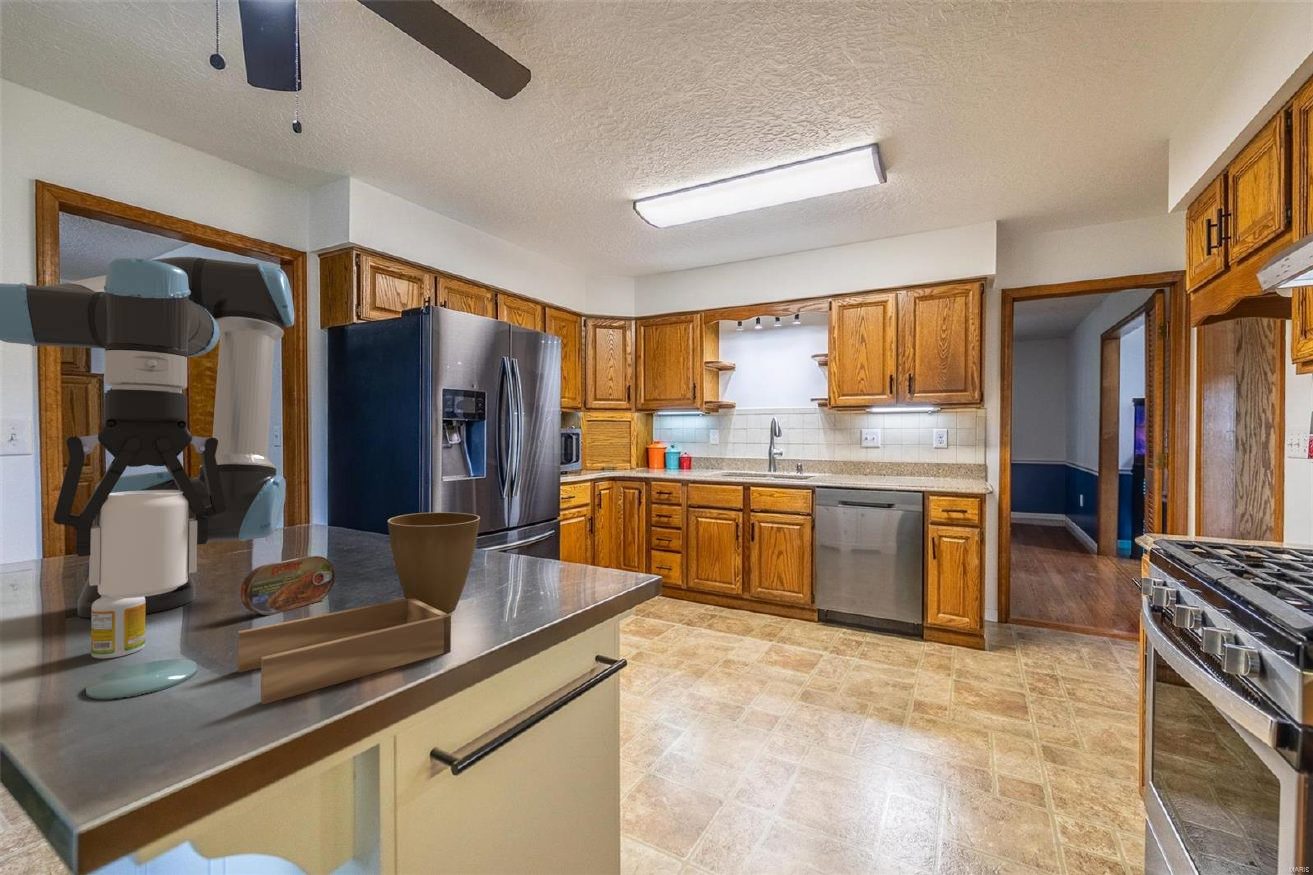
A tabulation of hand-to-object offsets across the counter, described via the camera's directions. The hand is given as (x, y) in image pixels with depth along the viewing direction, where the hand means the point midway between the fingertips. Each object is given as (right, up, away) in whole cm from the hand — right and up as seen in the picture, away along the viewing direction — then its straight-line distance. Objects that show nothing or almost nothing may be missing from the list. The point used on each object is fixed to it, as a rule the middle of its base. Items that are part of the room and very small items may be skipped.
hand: (144, 576), depth 69 cm
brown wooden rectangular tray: (+22, -13, +7) cm, 26 cm away
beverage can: (0, -2, 0) cm, 2 cm away
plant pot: (+24, -13, +29) cm, 40 cm away
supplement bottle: (-12, -13, +9) cm, 20 cm away
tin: (-2, -13, +30) cm, 33 cm away
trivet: (0, -13, 0) cm, 13 cm away
